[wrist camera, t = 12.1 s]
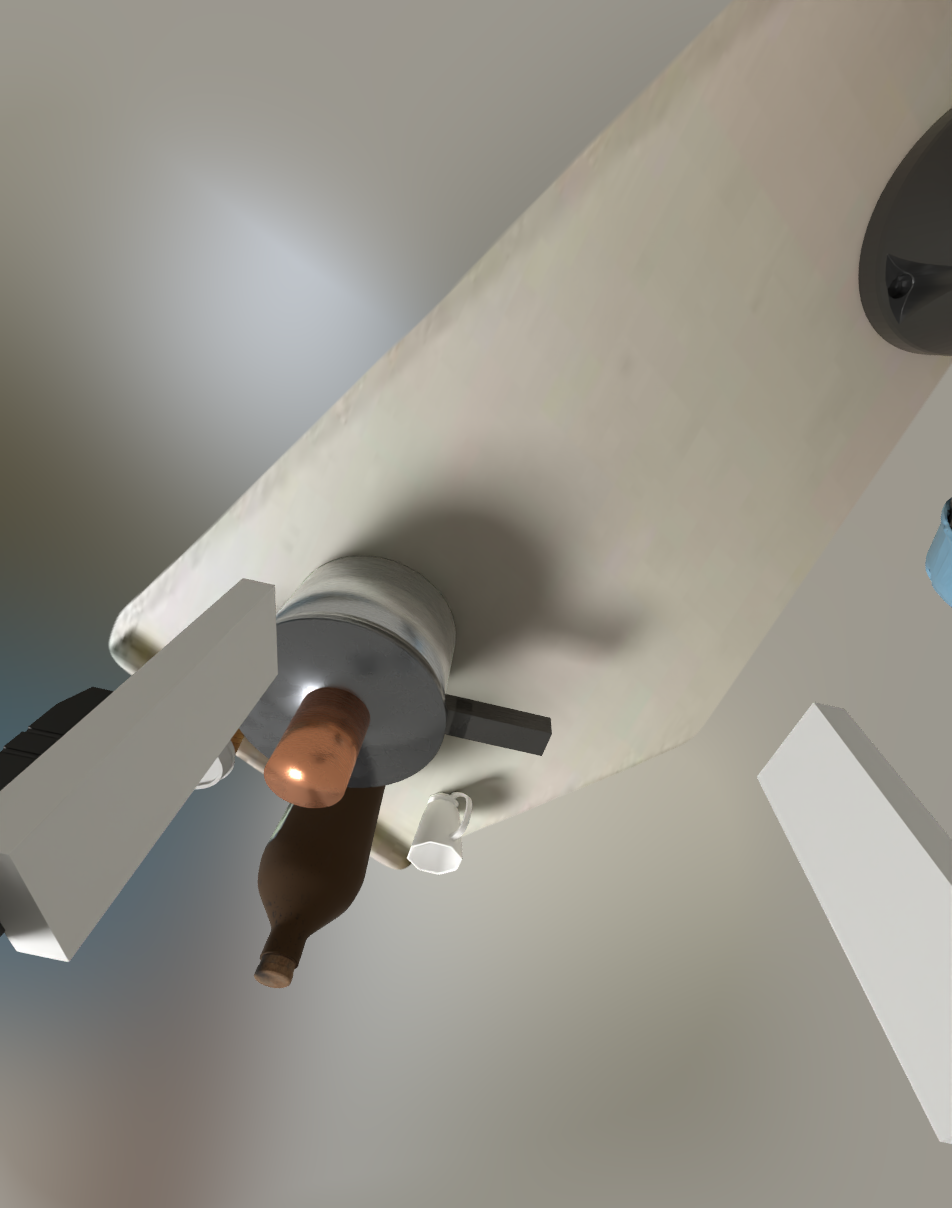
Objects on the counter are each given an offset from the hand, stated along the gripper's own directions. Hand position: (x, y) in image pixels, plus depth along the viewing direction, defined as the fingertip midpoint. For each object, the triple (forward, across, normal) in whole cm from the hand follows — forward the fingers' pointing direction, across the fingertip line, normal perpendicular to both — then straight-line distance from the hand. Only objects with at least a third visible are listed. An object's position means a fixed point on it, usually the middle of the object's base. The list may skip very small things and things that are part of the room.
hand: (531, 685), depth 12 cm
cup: (+33, +1, -49) cm, 59 cm away
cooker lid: (+21, -11, -24) cm, 33 cm away
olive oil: (+33, -12, -44) cm, 56 cm away
